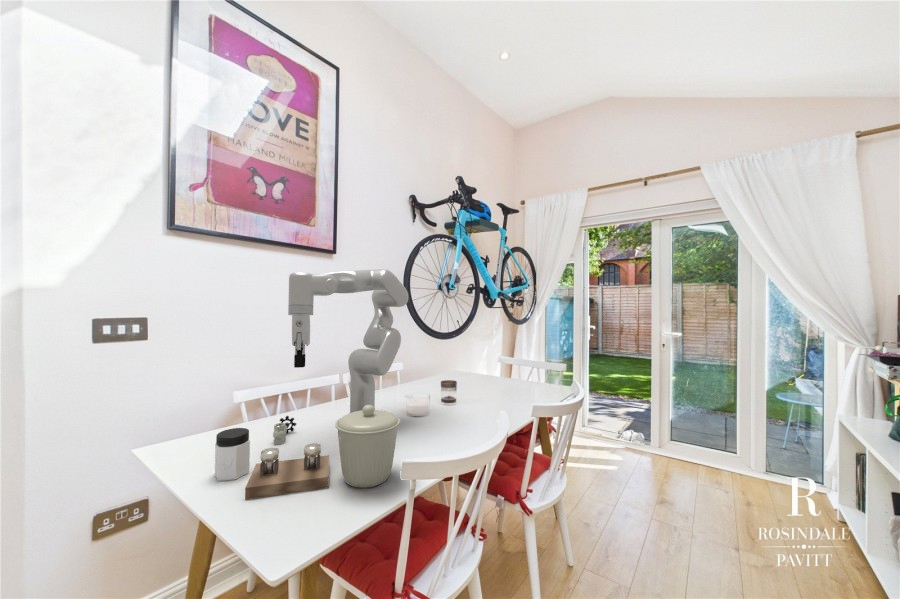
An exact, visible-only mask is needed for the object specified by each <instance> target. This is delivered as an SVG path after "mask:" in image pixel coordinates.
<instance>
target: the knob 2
mask: <svg viewBox="0 0 900 599" xmlns="http://www.w3.org/2000/svg"><path fill="white" fill-rule="evenodd" d="M321 445H322V444H321V443H315V442H314V443H308V444H305V445H304V448H303V449H304V450H303V451H304V453H303V455H304V457H305V456H307V457H308V458H309V462H308V468H309V469H314V468H316V457H317V455H319V454H320V455H321V452H322V451H321V450H322V448H321V447H322V446H321Z"/></svg>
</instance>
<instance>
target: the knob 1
mask: <svg viewBox="0 0 900 599" xmlns="http://www.w3.org/2000/svg"><path fill="white" fill-rule="evenodd" d="M279 454H280V451H279V448H278V447H270V448H269V447H268V448H264V449H263V450H261V451H260V461H261V462H262V461H263V462H265V463H266V467H265V474H272V473H273V472H274V462H275V460H276V459H279V457H280V455H279Z"/></svg>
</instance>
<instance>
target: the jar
mask: <svg viewBox="0 0 900 599" xmlns="http://www.w3.org/2000/svg"><path fill="white" fill-rule="evenodd" d="M215 438H216V441H215V444H214V445H215V446H214V448H215V450H214V451H215V452H214V454H215V455H214V476H215V478H216V480H217V481H218V482H224V481H234V480H235V481H236V480H238V479H239V478H241V477H243V476H245V475H247V474H248V473H249V472H250V459H251V458H250V454H251V453H250V452H251V450H250V449H251V448H250V447H251V446H250V445H251V441H250V430H249V429H248V428H245V427H235V428H229V429H225V430H222V431H220V432H218V433H217V434H216V437H215Z"/></svg>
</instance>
